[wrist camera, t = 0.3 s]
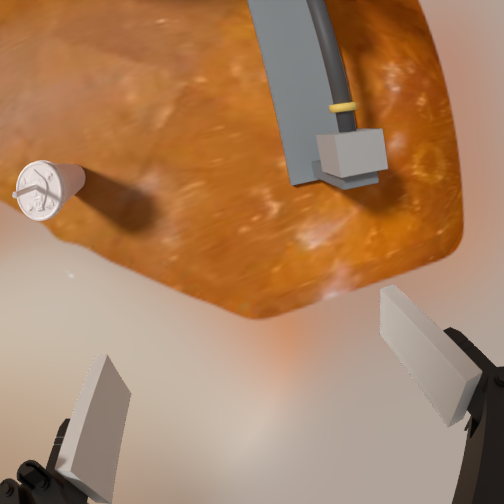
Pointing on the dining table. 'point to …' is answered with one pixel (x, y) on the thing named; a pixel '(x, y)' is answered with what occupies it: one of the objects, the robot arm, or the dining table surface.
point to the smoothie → (47, 188)
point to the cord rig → (314, 96)
